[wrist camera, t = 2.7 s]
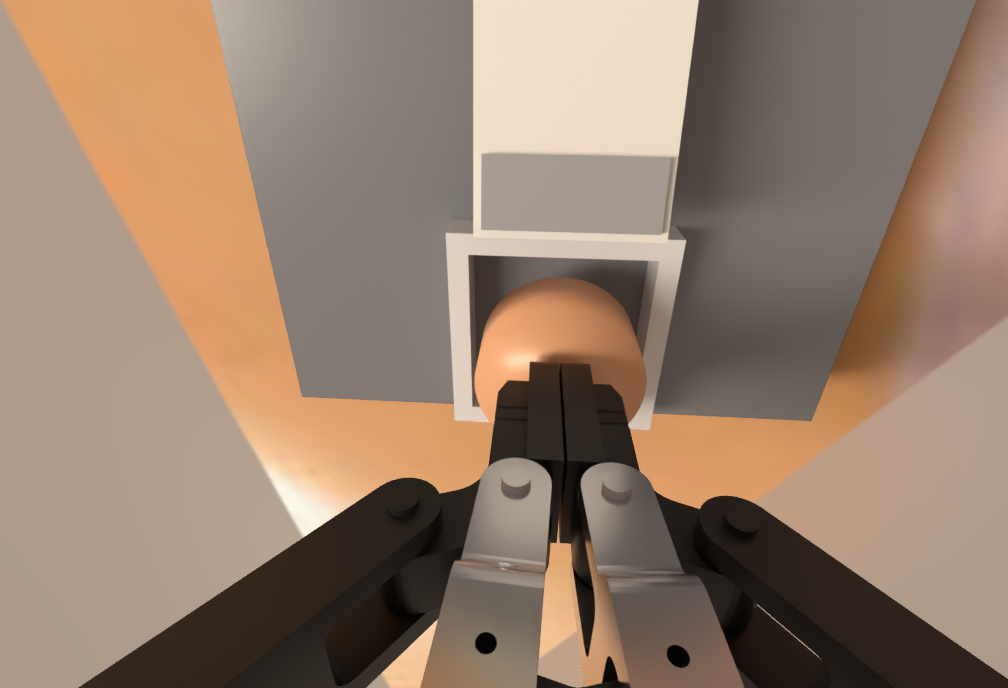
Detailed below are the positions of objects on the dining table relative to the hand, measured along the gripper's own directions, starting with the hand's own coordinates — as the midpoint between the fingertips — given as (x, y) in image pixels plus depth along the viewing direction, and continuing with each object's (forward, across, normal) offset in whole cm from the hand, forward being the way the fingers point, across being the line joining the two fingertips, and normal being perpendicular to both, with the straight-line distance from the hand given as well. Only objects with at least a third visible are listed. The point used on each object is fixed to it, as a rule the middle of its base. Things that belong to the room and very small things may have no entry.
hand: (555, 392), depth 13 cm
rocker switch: (+2, 0, -7) cm, 7 cm away
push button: (+2, 0, 0) cm, 2 cm away
